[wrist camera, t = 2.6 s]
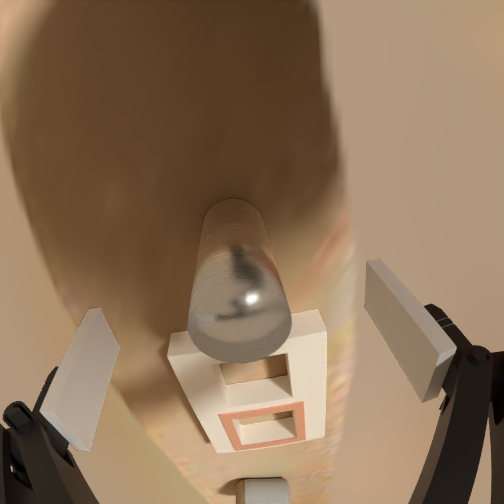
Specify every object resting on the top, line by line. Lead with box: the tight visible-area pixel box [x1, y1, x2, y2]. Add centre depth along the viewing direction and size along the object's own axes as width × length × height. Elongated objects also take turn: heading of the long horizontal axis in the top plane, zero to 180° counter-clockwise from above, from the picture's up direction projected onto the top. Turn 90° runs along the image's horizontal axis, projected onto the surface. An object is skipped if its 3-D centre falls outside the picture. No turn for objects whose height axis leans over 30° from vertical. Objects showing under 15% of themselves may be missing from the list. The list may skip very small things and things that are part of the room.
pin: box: [187, 199, 292, 363], centre depth 18 cm, size 4×4×11 cm
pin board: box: [167, 309, 327, 453], centre depth 29 cm, size 18×13×3 cm
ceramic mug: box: [236, 478, 290, 504], centre depth 41 cm, size 11×8×8 cm
